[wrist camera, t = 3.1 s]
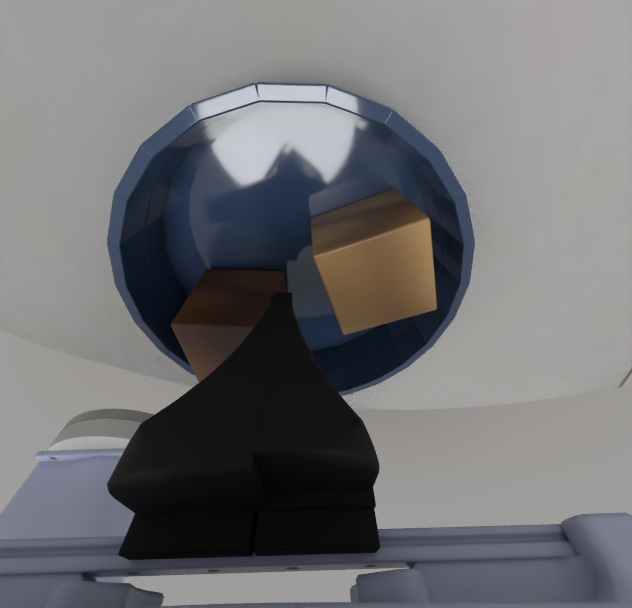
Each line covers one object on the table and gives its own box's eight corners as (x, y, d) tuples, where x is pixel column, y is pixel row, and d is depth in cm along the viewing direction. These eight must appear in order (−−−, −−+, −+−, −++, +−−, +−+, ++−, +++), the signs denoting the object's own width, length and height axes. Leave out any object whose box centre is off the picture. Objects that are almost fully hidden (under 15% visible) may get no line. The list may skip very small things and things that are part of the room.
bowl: (199, 350, 18) (177, 404, 14) (105, 87, 9) (4, 75, 6) (399, 347, 18) (420, 397, 15) (474, 96, 10) (554, 89, 7)
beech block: (334, 286, 14) (343, 336, 11) (309, 218, 12) (312, 257, 9) (406, 263, 14) (438, 310, 11) (395, 187, 11) (431, 217, 8)
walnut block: (223, 324, 16) (198, 382, 13) (205, 268, 13) (169, 324, 10) (289, 326, 16) (280, 385, 13) (285, 270, 13) (272, 327, 10)
